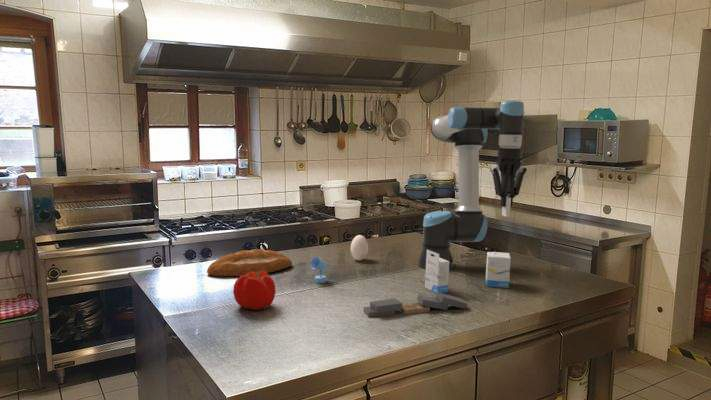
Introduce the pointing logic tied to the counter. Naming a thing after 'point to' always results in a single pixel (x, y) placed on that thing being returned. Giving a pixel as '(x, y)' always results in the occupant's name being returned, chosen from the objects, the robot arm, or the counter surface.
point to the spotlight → (319, 265)
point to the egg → (359, 247)
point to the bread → (249, 263)
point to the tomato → (254, 290)
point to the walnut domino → (414, 308)
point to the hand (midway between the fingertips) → (505, 215)
